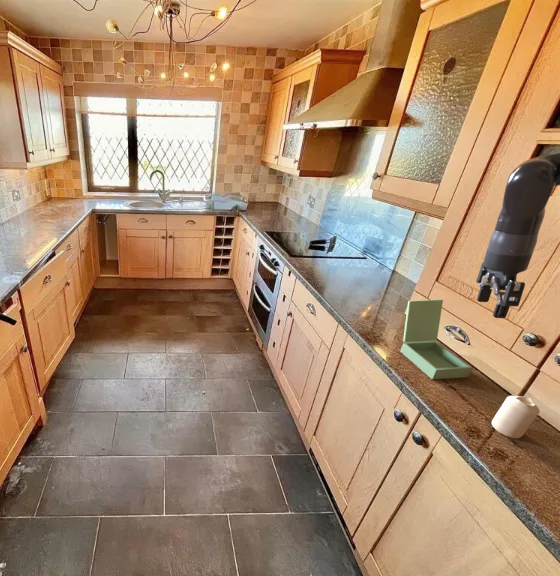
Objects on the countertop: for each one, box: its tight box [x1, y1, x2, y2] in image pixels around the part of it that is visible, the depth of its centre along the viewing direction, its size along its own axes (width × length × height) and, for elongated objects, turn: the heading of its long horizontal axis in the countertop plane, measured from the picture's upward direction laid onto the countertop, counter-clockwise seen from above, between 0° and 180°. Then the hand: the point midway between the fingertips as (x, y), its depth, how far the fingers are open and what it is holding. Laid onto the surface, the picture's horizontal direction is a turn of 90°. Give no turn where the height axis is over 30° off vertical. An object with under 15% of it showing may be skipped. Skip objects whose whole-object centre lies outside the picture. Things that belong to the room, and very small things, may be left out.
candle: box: [491, 395, 541, 439], centre depth 75 cm, size 6×6×10 cm
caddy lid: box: [402, 298, 444, 343], centre depth 103 cm, size 14×11×4 cm
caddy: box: [400, 340, 473, 380], centre depth 98 cm, size 13×11×4 cm
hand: (490, 309), depth 79 cm, fingers open, 8 cm apart
